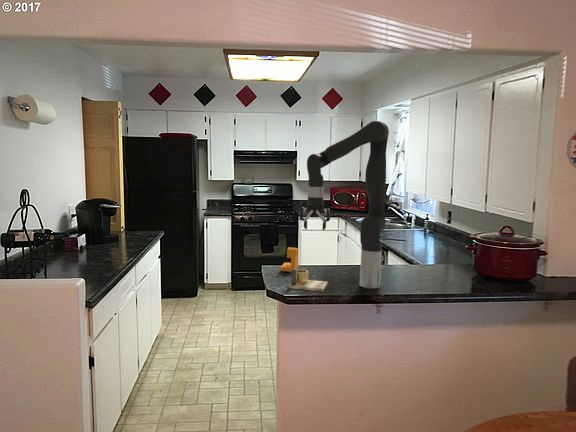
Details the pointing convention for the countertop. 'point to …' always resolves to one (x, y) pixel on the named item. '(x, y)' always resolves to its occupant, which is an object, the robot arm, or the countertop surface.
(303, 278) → the brass collar
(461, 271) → the countertop surface
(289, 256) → the bracket
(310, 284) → the maple board
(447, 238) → the countertop surface
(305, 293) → the countertop surface
